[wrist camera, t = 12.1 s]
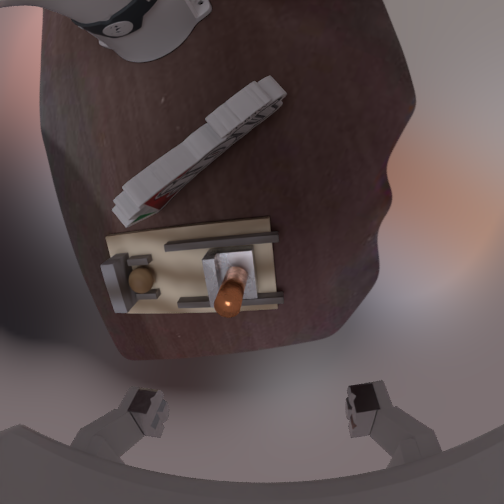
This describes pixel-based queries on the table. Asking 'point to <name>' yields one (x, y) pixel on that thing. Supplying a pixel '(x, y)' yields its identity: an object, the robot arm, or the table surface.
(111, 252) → the press bed
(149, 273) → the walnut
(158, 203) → the decorative sign
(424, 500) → the robot arm
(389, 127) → the table surface
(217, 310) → the handle
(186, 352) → the table surface
